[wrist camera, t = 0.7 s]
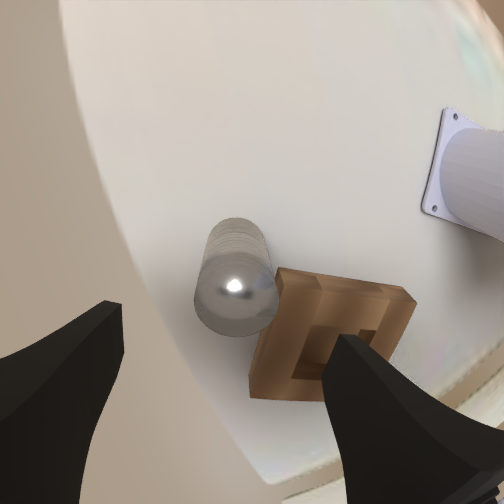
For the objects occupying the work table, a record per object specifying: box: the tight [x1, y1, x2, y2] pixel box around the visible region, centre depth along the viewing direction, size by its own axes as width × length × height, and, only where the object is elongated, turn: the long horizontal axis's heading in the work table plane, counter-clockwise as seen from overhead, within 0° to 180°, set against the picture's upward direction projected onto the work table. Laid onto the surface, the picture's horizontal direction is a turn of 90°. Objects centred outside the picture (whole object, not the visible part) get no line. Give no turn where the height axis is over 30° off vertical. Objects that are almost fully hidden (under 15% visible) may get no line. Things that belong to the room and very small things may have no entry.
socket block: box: [249, 267, 417, 401], centre depth 21 cm, size 10×10×2 cm
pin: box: [194, 218, 279, 337], centre depth 16 cm, size 4×4×7 cm
